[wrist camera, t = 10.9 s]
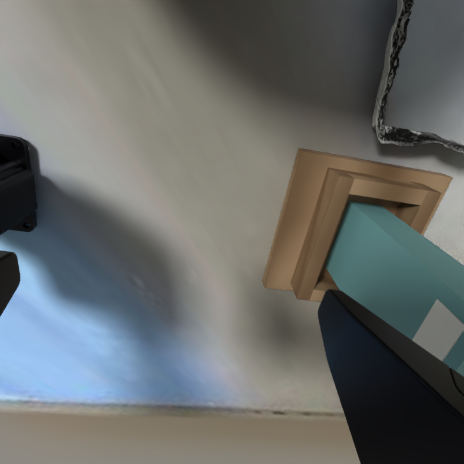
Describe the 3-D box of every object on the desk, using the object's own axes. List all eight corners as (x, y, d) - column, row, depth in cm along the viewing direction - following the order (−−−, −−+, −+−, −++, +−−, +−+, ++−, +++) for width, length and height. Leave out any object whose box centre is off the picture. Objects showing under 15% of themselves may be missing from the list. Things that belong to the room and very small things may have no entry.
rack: (262, 280, 25) (268, 304, 22) (298, 148, 20) (311, 158, 18) (382, 293, 26) (402, 317, 24) (442, 173, 22) (475, 186, 19)
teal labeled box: (324, 265, 23) (418, 420, 13) (348, 200, 21) (490, 323, 10) (354, 269, 24) (472, 422, 13) (382, 205, 21) (552, 329, 11)
